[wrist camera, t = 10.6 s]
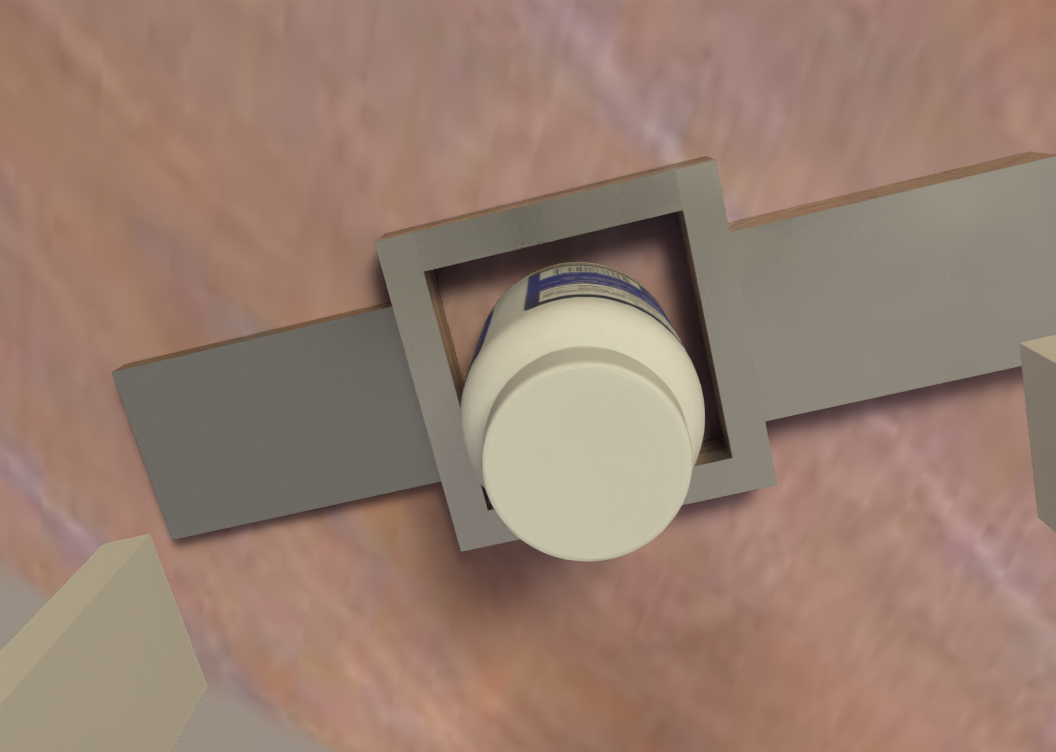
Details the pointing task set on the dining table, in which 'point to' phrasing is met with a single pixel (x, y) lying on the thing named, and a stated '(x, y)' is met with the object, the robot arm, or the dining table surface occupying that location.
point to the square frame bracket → (724, 315)
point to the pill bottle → (582, 413)
